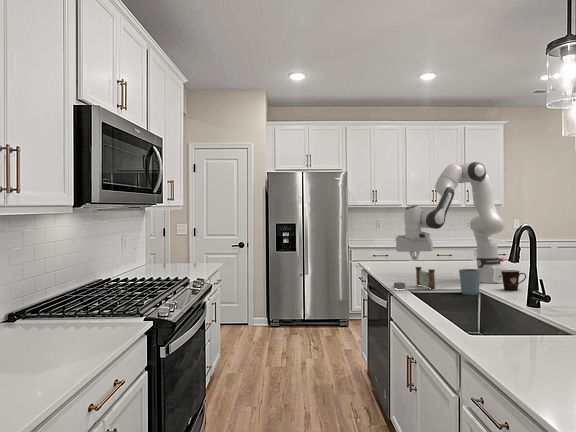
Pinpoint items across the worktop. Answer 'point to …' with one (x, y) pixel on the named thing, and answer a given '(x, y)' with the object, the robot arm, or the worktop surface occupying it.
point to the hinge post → (418, 274)
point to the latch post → (431, 278)
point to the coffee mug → (511, 279)
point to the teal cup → (469, 281)
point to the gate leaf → (424, 278)
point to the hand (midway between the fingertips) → (415, 259)
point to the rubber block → (399, 285)
